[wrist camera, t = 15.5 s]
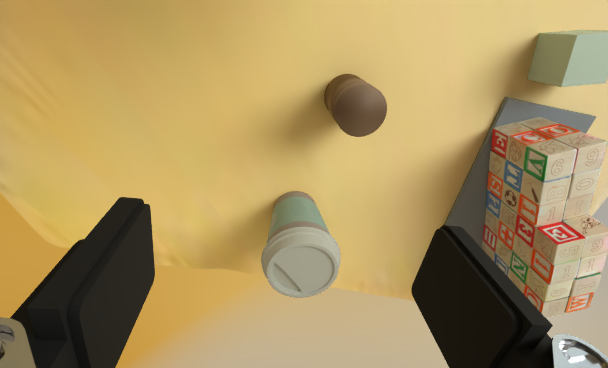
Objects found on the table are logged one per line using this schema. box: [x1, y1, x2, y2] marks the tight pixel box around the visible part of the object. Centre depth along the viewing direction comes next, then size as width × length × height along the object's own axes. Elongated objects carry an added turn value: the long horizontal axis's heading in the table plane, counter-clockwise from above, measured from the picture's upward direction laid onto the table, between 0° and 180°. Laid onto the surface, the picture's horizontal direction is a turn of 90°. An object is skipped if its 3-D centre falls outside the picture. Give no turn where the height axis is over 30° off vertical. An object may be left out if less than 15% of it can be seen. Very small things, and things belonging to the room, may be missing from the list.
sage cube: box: [528, 30, 608, 87], centre depth 34 cm, size 5×5×5 cm
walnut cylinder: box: [325, 74, 387, 137], centre depth 33 cm, size 5×5×7 cm
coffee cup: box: [261, 191, 340, 298], centre depth 37 cm, size 9×8×12 cm
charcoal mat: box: [444, 97, 596, 248], centre depth 45 cm, size 27×13×1 cm, turn 169°
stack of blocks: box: [482, 117, 608, 318], centre depth 39 cm, size 21×6×12 cm, turn 12°
